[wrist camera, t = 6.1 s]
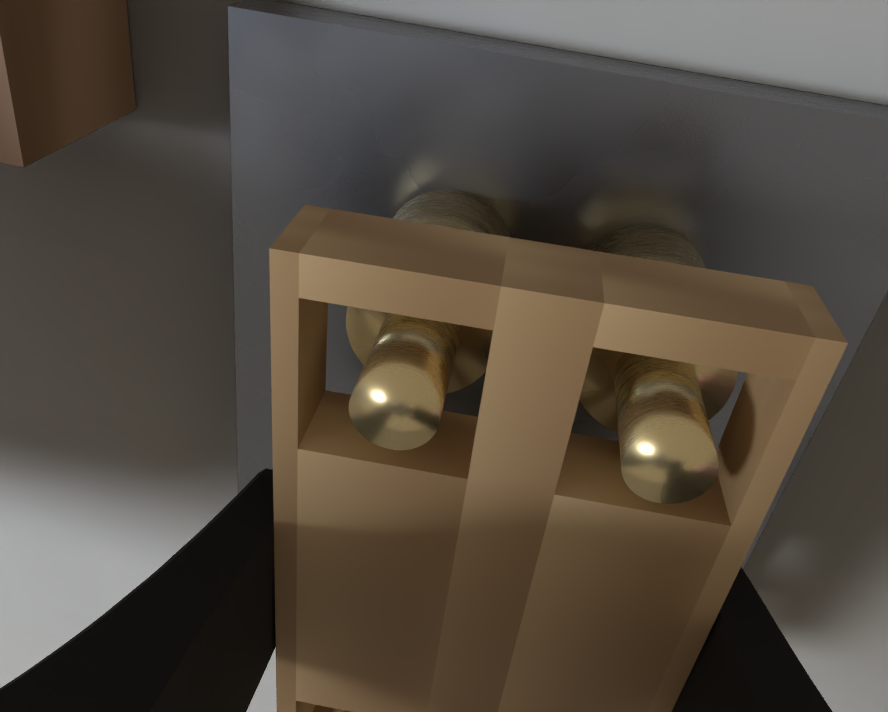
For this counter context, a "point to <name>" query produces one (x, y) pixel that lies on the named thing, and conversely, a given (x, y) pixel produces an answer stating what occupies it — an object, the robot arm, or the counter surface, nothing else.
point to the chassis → (539, 212)
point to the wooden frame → (515, 475)
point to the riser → (61, 73)
